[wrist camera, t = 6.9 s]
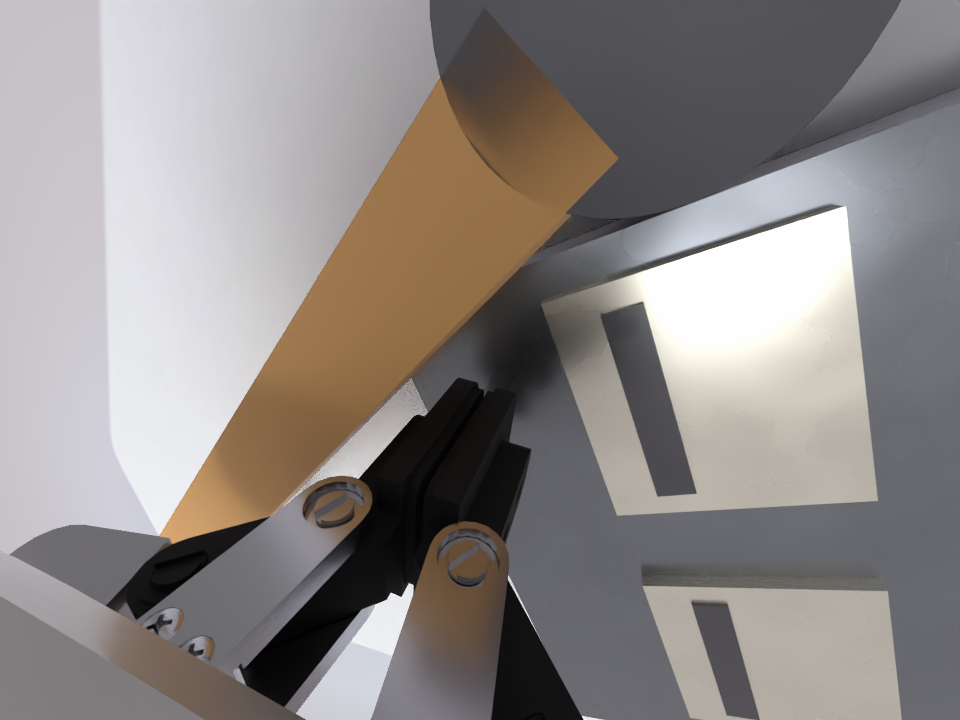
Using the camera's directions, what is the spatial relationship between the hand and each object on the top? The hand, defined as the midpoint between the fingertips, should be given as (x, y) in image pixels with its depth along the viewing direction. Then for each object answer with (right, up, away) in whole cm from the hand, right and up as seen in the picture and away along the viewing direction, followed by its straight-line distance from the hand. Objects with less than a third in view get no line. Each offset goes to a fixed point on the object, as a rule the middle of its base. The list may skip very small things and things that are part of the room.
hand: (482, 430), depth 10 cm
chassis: (+9, -2, +3) cm, 10 cm away
